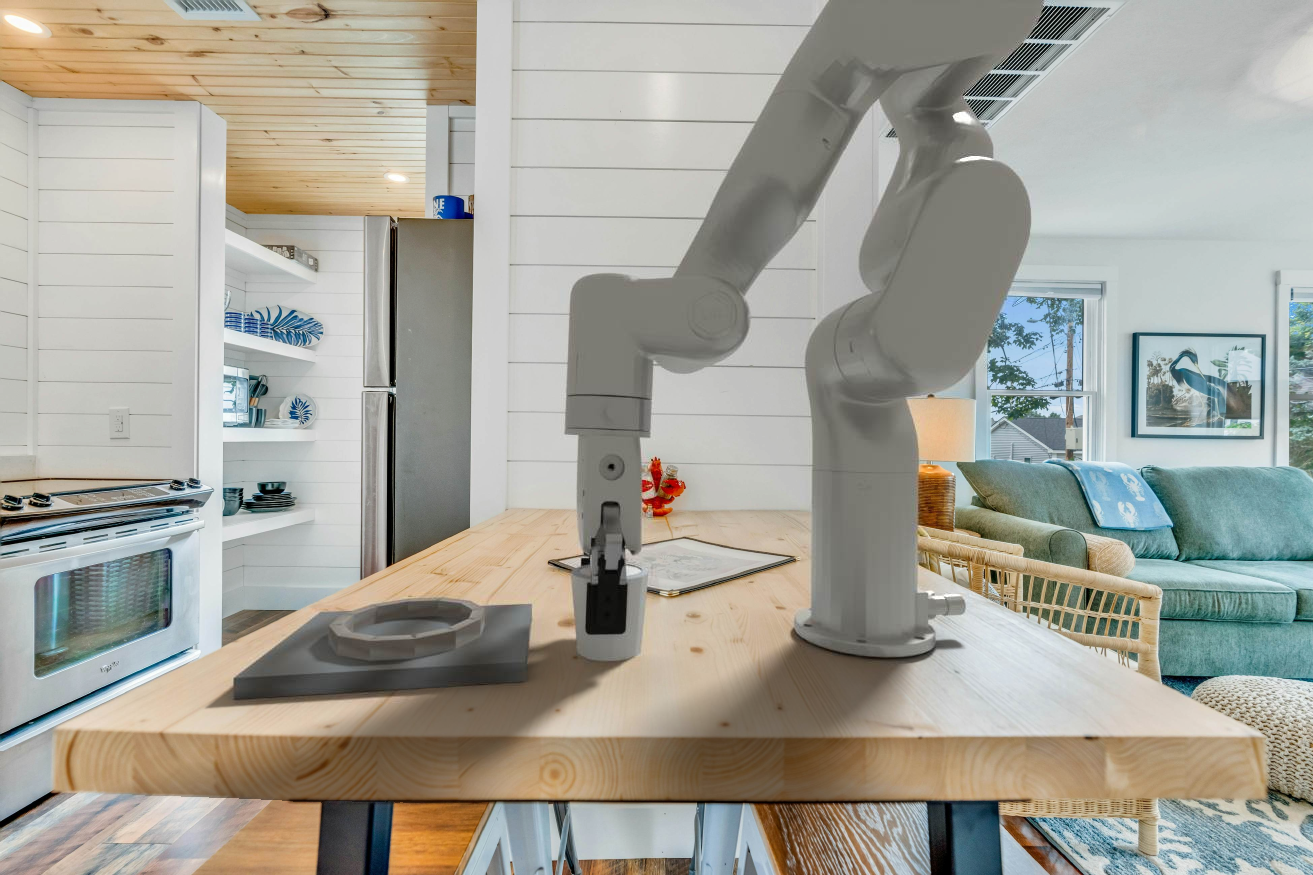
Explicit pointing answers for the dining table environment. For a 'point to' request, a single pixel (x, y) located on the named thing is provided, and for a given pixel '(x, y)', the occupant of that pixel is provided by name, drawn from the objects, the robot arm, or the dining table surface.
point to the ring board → (395, 649)
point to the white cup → (631, 640)
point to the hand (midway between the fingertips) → (600, 615)
